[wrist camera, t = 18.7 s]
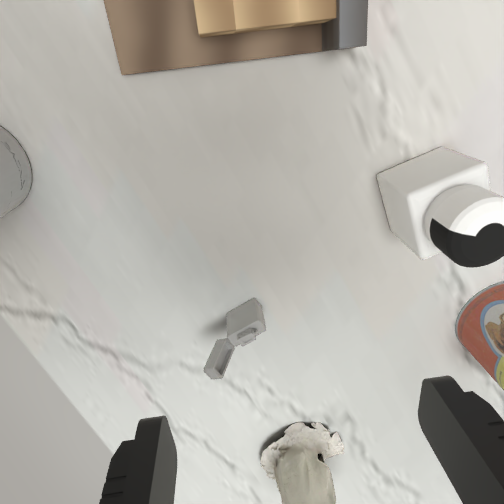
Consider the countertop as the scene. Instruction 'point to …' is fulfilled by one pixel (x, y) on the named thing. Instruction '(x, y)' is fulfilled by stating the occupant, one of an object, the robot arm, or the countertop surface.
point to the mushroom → (303, 464)
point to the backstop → (218, 47)
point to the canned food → (485, 329)
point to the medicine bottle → (445, 207)
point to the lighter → (235, 336)
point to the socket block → (259, 15)
